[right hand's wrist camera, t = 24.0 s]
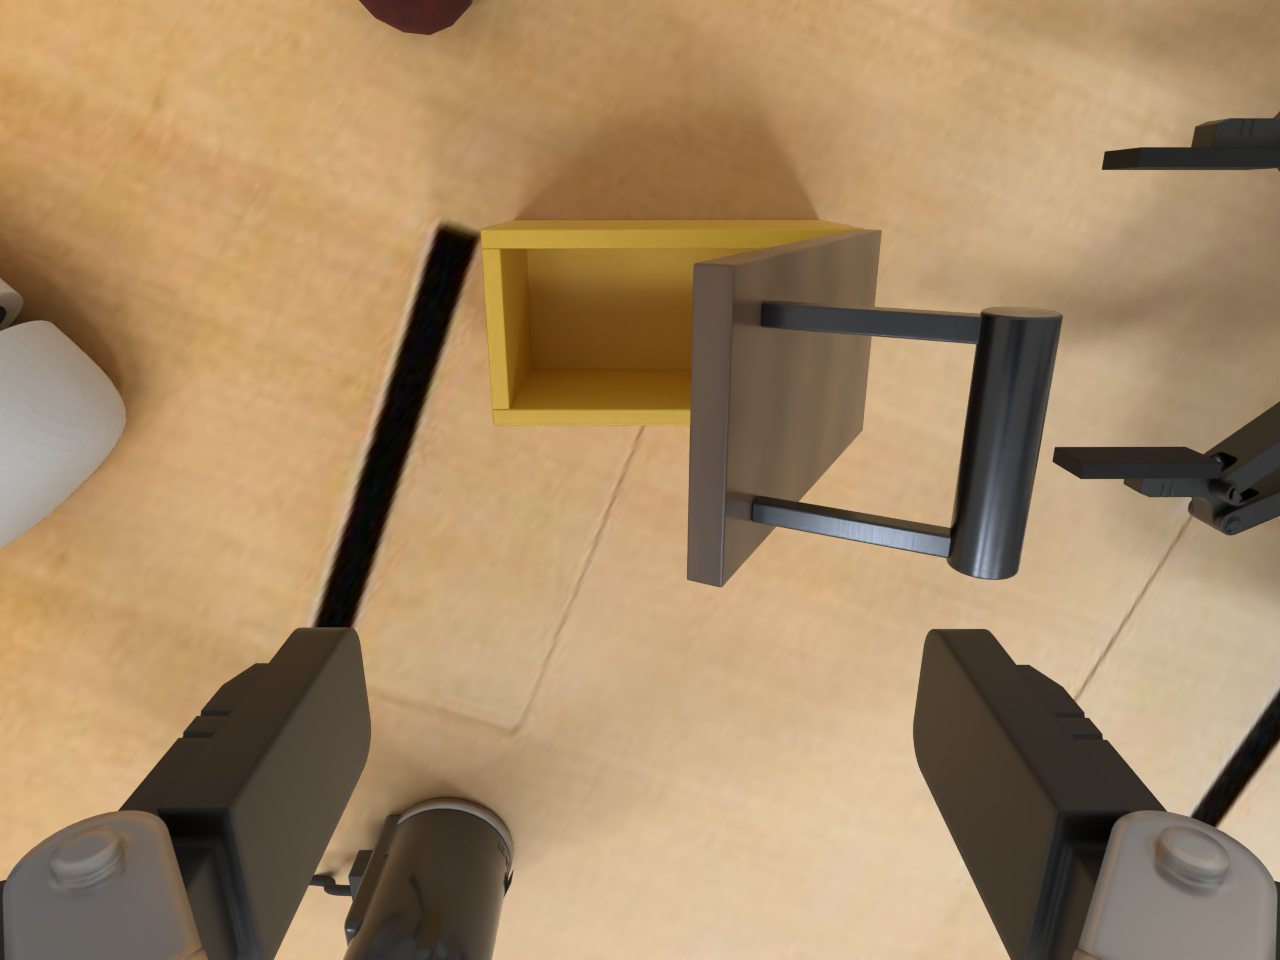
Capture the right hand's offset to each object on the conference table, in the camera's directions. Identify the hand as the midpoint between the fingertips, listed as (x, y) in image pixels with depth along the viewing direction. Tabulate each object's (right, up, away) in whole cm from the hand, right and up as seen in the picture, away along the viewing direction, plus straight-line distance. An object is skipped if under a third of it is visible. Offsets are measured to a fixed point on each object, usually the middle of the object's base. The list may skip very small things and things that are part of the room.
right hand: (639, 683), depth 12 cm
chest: (+2, +13, +36) cm, 39 cm away
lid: (+6, +7, +19) cm, 21 cm away
